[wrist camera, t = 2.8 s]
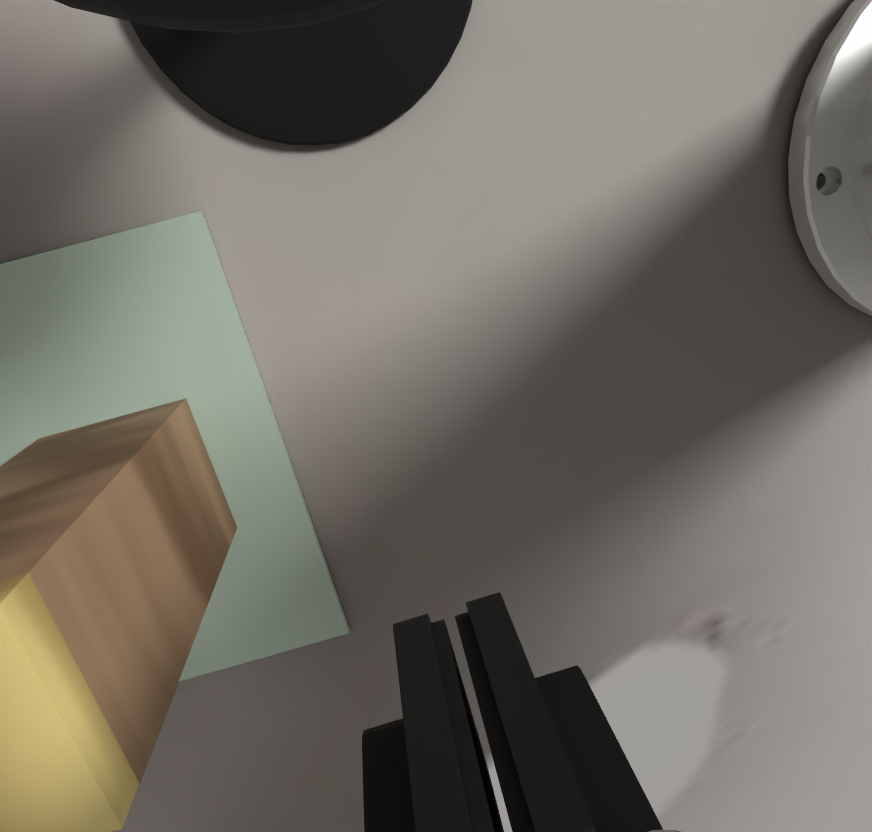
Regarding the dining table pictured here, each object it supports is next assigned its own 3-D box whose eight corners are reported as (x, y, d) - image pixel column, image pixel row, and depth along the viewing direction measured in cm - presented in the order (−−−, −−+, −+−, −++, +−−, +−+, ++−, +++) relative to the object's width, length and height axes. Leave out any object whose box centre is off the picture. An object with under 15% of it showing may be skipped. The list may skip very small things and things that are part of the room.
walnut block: (186, 398, 22) (-1, 605, 11) (237, 527, 24) (122, 828, 12) (38, 438, 22) (-312, 691, 10) (100, 565, 23) (-146, 905, 12)
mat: (202, 210, 21) (199, 210, 20) (349, 628, 26) (349, 633, 25) (-440, 381, 20) (-451, 383, 20) (-159, 772, 25) (-165, 779, 25)
